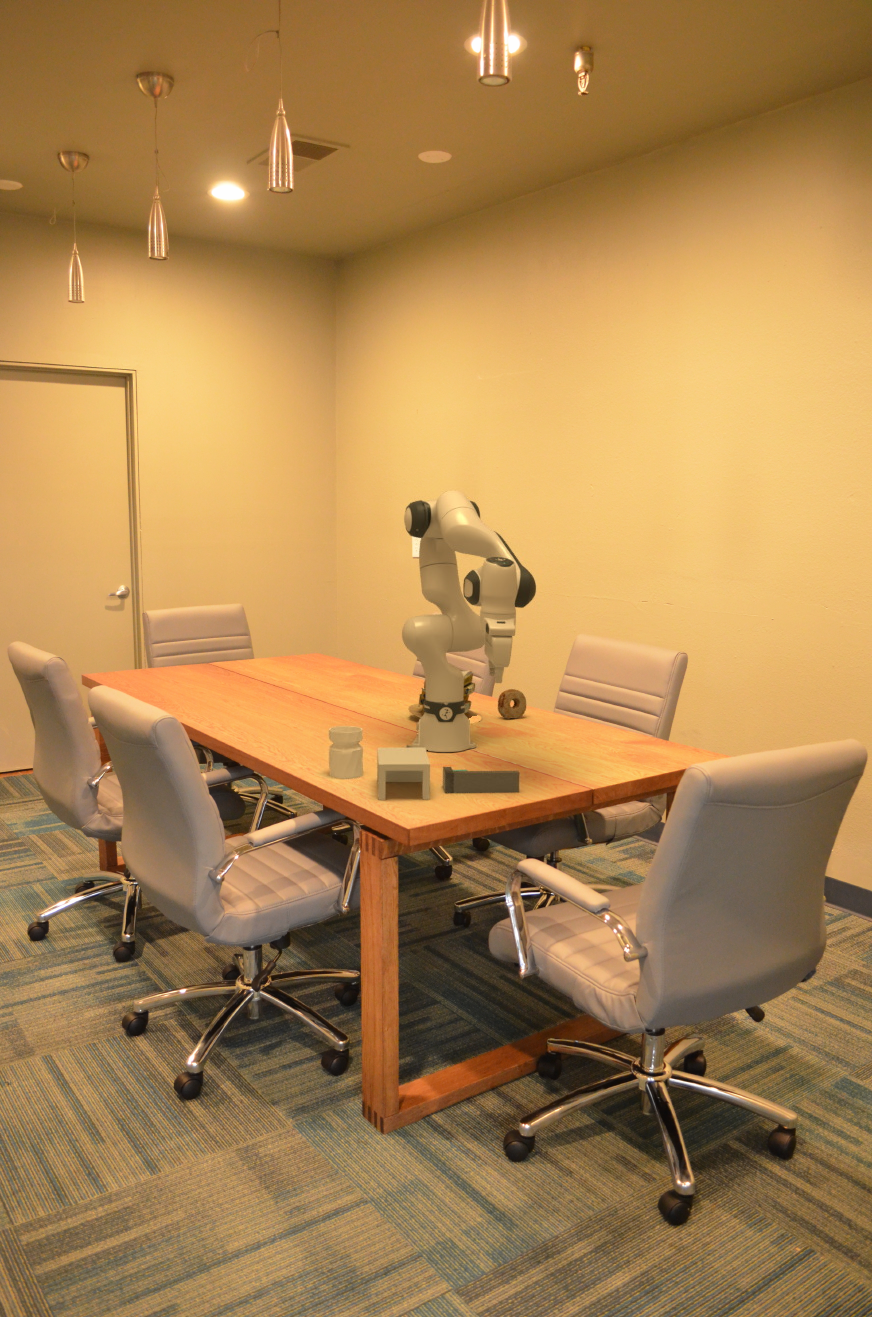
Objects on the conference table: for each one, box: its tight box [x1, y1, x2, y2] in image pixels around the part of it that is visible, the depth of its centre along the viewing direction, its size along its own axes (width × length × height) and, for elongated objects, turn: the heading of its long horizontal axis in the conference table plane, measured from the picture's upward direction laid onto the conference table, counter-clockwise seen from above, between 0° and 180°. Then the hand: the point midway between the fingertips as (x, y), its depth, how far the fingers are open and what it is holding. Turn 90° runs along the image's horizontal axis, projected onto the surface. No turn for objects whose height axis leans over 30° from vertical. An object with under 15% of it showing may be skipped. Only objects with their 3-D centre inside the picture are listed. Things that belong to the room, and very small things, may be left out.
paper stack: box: [407, 669, 479, 719], centre depth 332 cm, size 25×25×17 cm
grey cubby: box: [376, 747, 431, 801], centre depth 240 cm, size 18×12×8 cm, turn 4°
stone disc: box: [497, 688, 527, 719], centre depth 334 cm, size 10×4×10 cm, turn 116°
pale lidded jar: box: [328, 725, 364, 780], centre depth 254 cm, size 9×9×12 cm
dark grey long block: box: [442, 766, 520, 794], centre depth 242 cm, size 6×18×5 cm, turn 95°
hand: (495, 679), depth 246 cm, fingers open, 8 cm apart
